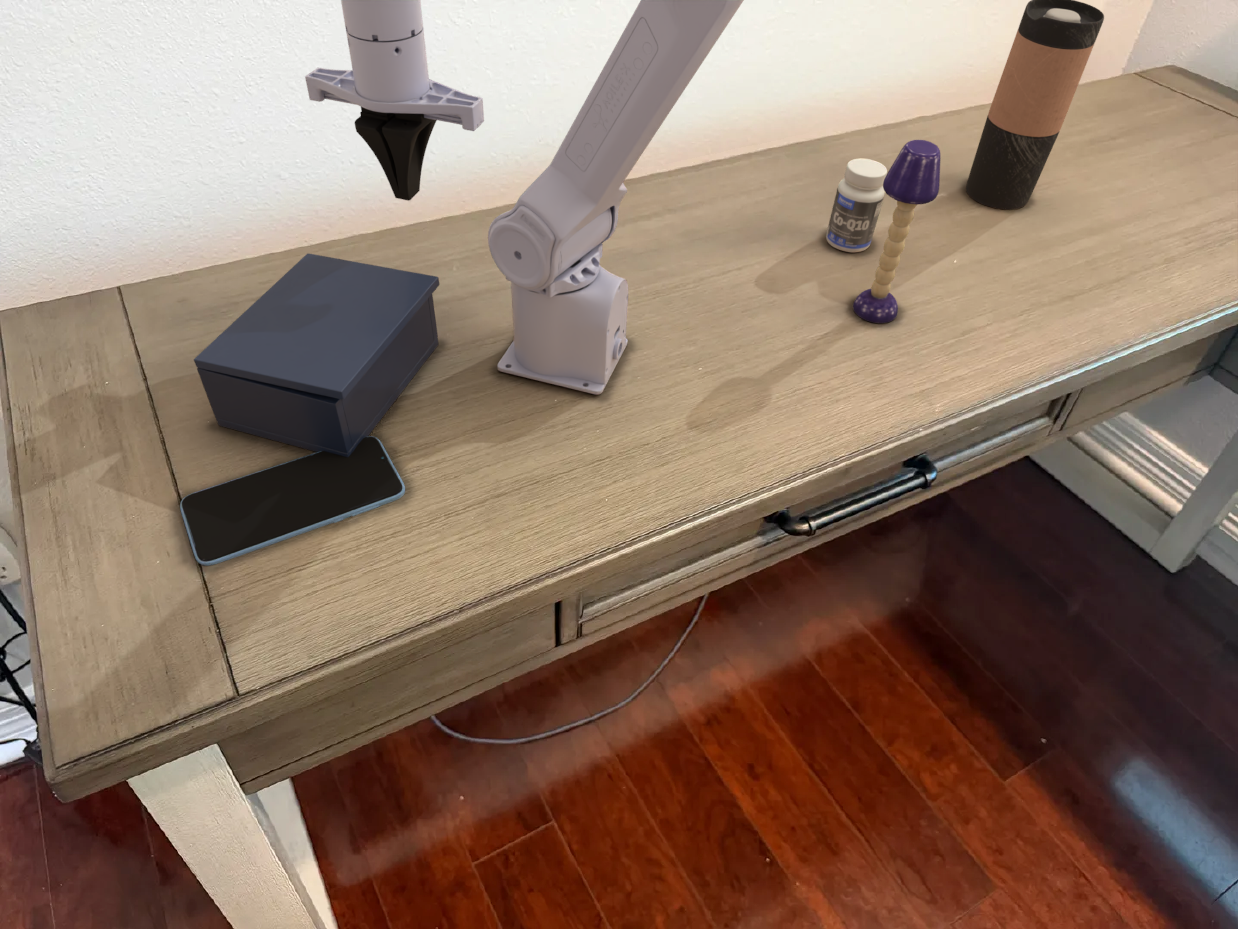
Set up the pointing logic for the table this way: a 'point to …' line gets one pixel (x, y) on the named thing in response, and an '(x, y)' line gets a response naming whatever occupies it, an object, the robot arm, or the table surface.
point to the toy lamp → (900, 222)
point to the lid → (319, 325)
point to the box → (320, 416)
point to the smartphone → (288, 501)
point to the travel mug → (1032, 100)
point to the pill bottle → (857, 205)
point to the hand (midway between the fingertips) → (407, 194)
